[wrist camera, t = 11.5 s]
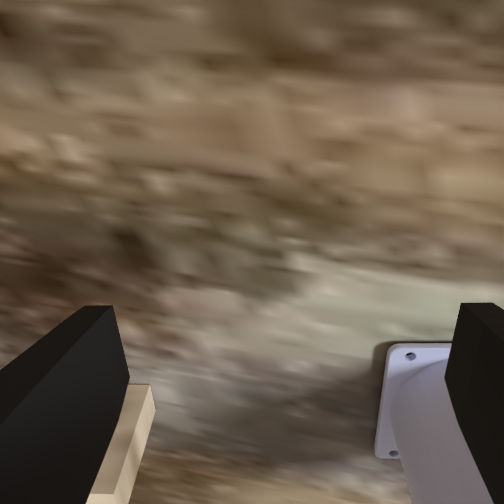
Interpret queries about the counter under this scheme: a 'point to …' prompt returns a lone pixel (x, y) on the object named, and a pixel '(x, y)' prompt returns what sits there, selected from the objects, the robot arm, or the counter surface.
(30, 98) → the counter surface
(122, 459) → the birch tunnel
